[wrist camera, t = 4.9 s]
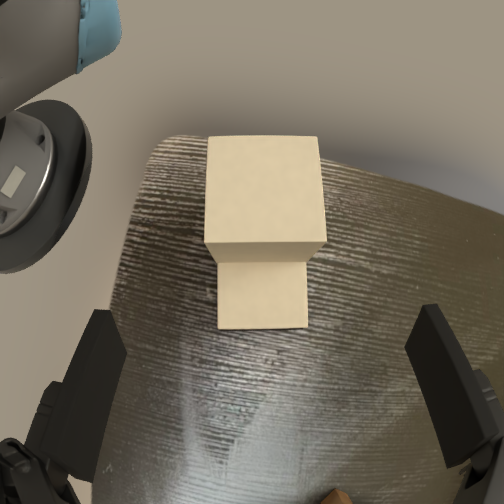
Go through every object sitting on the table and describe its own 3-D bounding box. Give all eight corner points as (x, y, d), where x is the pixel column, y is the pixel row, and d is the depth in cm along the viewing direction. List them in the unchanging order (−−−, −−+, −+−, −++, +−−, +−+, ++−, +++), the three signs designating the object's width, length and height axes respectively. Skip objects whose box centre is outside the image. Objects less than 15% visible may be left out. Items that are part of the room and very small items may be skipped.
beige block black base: (221, 194, 27) (206, 128, 17) (295, 193, 27) (318, 129, 17) (220, 330, 25) (201, 337, 15) (301, 328, 25) (332, 334, 15)
